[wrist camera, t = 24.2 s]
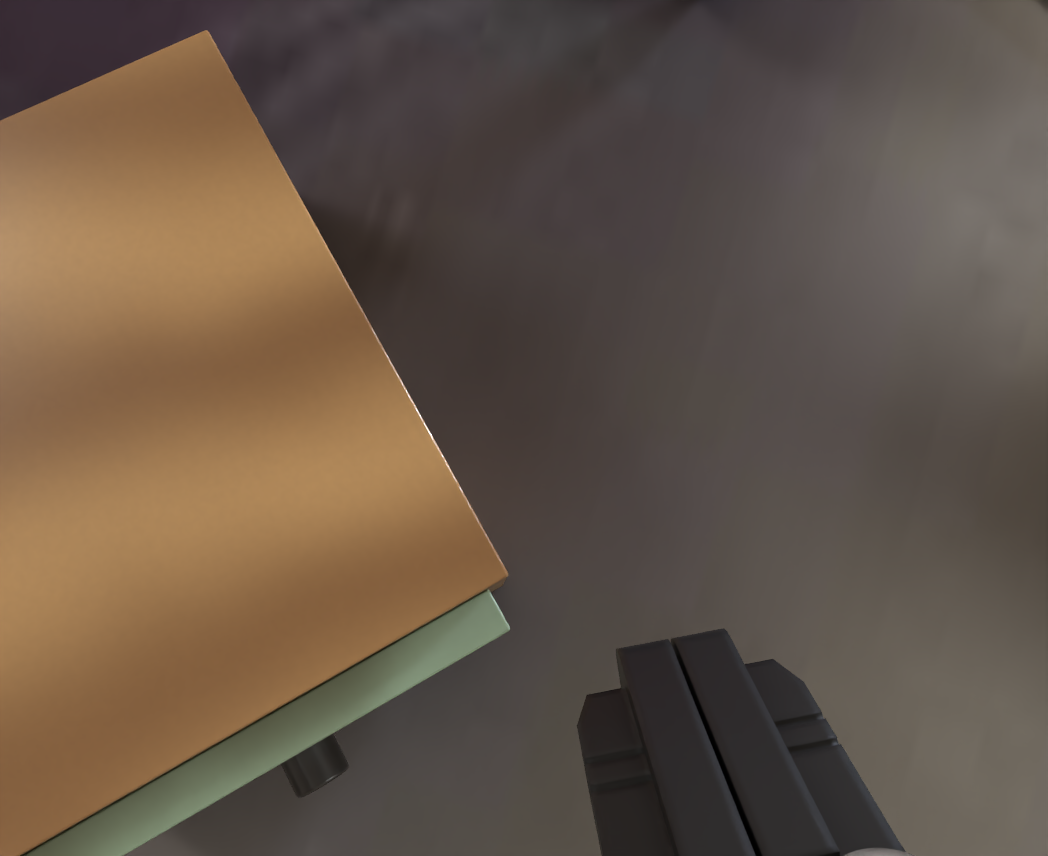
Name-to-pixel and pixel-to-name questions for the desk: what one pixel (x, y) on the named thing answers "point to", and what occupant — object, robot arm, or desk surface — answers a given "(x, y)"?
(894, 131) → the desk surface
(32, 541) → the cabinet
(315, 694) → the drawer
